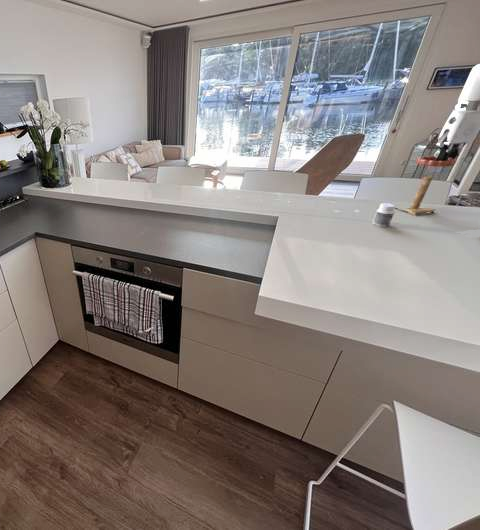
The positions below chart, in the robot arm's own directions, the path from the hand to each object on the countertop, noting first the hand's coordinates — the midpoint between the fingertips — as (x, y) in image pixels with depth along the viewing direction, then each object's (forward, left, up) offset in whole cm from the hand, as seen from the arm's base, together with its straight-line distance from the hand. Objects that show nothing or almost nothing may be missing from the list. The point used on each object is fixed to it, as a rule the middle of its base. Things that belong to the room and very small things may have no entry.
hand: (444, 162), depth 106 cm
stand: (0, +4, -18) cm, 19 cm away
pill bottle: (-9, +28, -18) cm, 35 cm away
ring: (0, +4, +1) cm, 4 cm away
